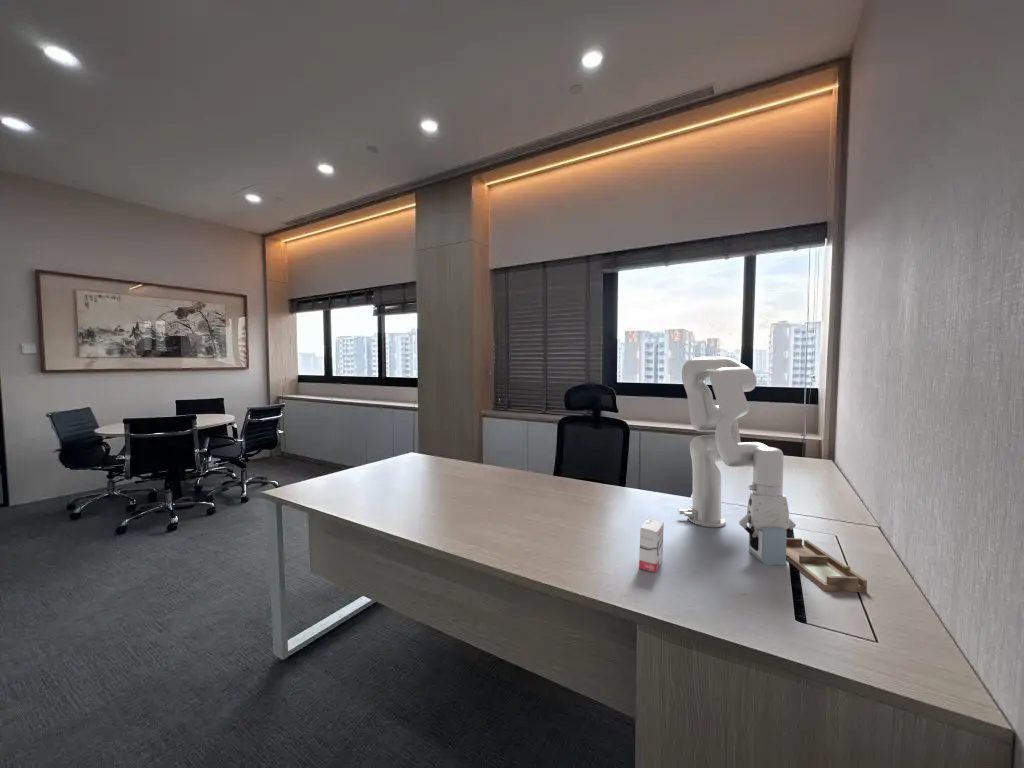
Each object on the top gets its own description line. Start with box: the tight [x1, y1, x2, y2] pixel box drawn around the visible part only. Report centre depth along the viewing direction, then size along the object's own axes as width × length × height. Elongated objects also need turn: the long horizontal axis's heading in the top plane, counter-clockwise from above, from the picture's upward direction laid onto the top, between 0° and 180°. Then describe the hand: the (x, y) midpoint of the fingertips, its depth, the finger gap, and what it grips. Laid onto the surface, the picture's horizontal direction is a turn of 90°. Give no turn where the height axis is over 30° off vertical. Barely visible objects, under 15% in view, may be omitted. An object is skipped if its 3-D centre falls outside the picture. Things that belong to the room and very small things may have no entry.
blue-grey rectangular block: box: [748, 523, 788, 566], centre depth 123 cm, size 6×9×10 cm
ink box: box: [638, 519, 665, 573], centre depth 119 cm, size 9×5×12 cm, turn 148°
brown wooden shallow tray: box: [786, 537, 868, 593], centre depth 116 cm, size 10×24×4 cm, turn 175°
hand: (766, 548), depth 123 cm, fingers closed on blue-grey rectangular block, 6 cm apart
